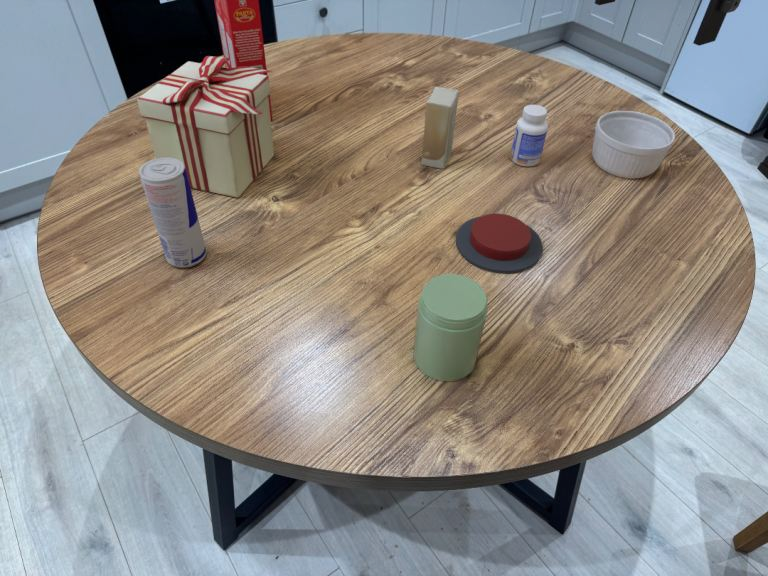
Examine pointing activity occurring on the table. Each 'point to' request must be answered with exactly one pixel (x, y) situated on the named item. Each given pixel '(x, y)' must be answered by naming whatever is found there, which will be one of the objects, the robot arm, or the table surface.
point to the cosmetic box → (439, 127)
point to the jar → (449, 326)
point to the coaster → (497, 265)
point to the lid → (500, 237)
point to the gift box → (212, 123)
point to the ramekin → (631, 143)
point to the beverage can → (173, 211)
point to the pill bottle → (529, 136)
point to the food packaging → (241, 34)
